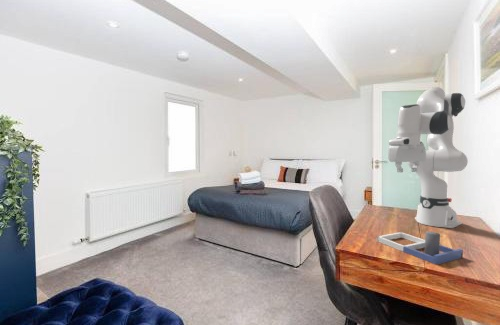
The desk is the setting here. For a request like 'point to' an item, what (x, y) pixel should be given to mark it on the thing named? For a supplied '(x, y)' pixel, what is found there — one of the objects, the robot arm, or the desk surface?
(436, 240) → the smooth grey pebble
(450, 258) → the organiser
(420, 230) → the desk surface
